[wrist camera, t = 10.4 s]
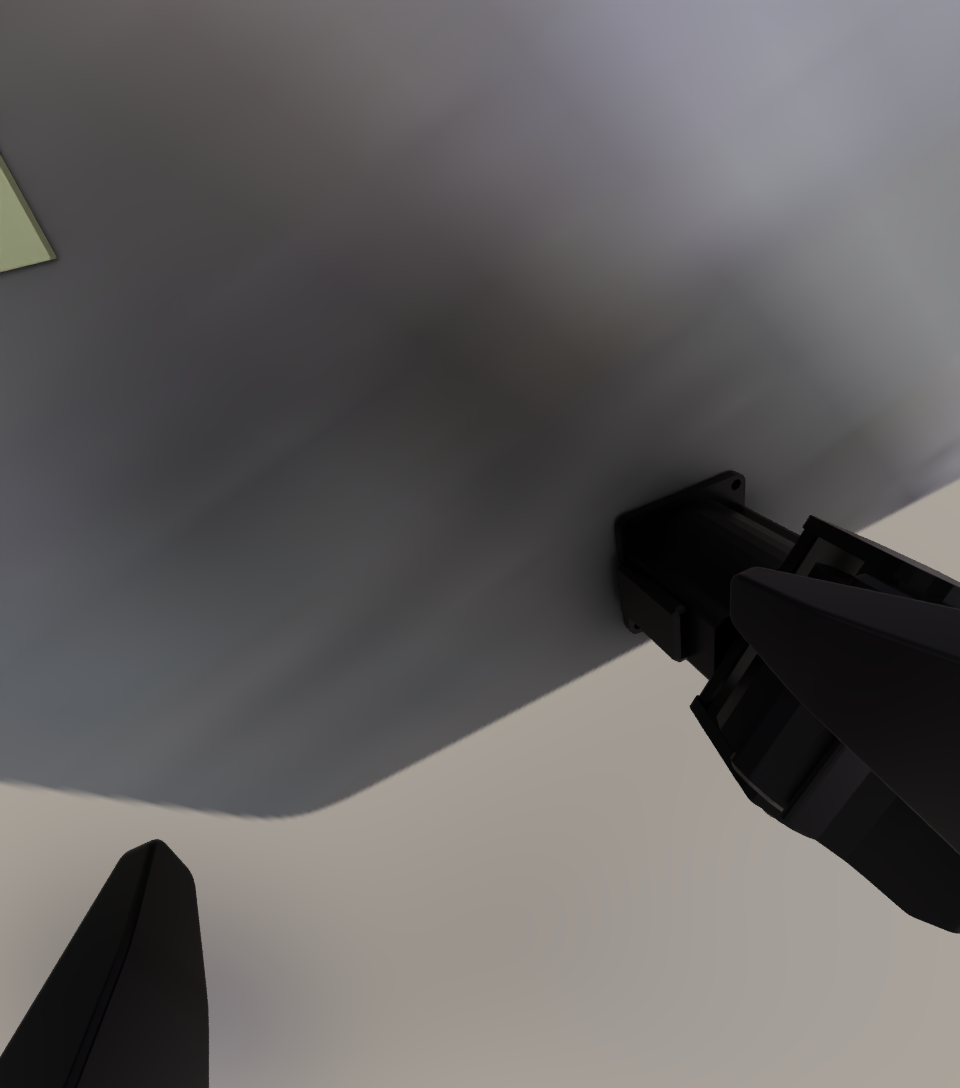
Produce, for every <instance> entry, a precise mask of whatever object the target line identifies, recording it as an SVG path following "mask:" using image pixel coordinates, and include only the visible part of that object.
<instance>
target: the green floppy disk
mask: <svg viewBox="0 0 960 1088" xmlns="http://www.w3.org/2000/svg"><path fill="white" fill-rule="evenodd" d="M53 259H57V257H56V255H55V253H54V251H53V250H52V248H51V246H50V244H49V242H48V240H47V239H46V237H45V235H44V233H43V231H42V229H41V228H40V226H39V224H38V222H37V220H36V218H35V217H34V215H33V213H32V211H31V209H30V208H29V206H28V204H27V202H26V200H25V198H24V197H23V195H22V193H21V191H20V189H19V187H18V186H17V184H16V182H15V180H14V178H13V176H12V175H11V173H10V171H9V169H8V167H7V166H6V164H5V162H4V160H3V158H2V156H1V155H0V272H4V271H8V270H12V269H16V268H21V267H25V266H29V265H33V264H37V263H41V262H45V261H49V260H53Z"/></svg>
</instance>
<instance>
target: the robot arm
mask: <svg viewBox="0 0 960 1088" xmlns="http://www.w3.org/2000/svg"><path fill="white" fill-rule="evenodd" d="M733 482H734V483H733ZM732 483H733V484H732ZM744 501H745V477H744V476H743V475H742V474H740V473H737V472H735V471H731V472H728V473H726V474H723V475H721V476H718V477H716V478H713V479H711V480H708V481H706V482H704V483H701V484H699V485H696V486H694V487H691V488H689V489H686V490H684V491H681V492H679V493H677V494H674V495H672V496H669V497H667V498H664V499H662V500H659V501H657V502H654V503H652V504H650V505H647V506H645V507H642V508H640V509H637V510H635V511H632V512H630V513H627V514H625V515H623V516H622V517H620V518H619V519H618V521H617V523H616V527H615V530H616V540H617V550H618V560H619V564H618V567H617V577H618V587H619V596H620V606H621V611H622V612H623V613H624V620H625V626H626V628H627V629H628V630H629V631H630V632H632V633H634V634H637V633H640V632H642V631H643V632H644V633H645V634H646V635H648V636H649V637H650V638H651V639H652V640H653V641H654V642H655V643H656V644H657V645H658V646H659V647H660V648H661V649H662V650H663V651H664V652H665V653H666V654H668V655H669V656H670V657H671V658H672V659H673V660H675V661H678V662H682V661H684V660H687V661H689V662H690V663H691V664H692V665H693V666H694V667H695V668H696V669H697V670H698V671H699V672H700V673H702V674H703V675H704V676H705V677H706V678H707V679H708V680H709V681H708V683H707V684H706V686H705V687H704V689H703V691H702V692H701V694H700V695H697V696H696V697H695V699H694V700H693V702H692V704H691V705H690V709H691V710H692V712H693V713H694V715H695V717H696V718H697V720H698V721H699V723H700V724H701V726H702V728H703V729H704V731H705V732H706V734H707V735H708V737H709V739H710V740H711V741H712V743H713V745H714V746H715V748H716V749H717V751H718V752H719V754H720V756H721V757H722V759H723V760H724V762H725V763H726V765H727V767H728V768H729V770H730V771H731V773H732V774H733V776H734V778H735V779H736V781H737V782H738V783H739V785H740V786H741V788H742V790H743V791H744V793H745V794H746V796H747V797H748V798H749V799H750V801H751V802H753V803H754V804H755V805H757V806H759V807H761V808H762V809H763V810H764V811H765V812H766V813H767V814H768V815H770V816H771V817H773V818H775V819H777V820H778V821H779V822H781V823H782V824H784V825H786V826H787V827H789V828H790V829H792V830H794V831H796V832H798V833H800V834H802V835H804V836H806V837H809V838H812V839H815V840H816V841H818V842H819V843H821V844H822V845H823V846H825V847H826V848H828V849H829V850H830V851H832V852H833V853H835V854H836V855H837V856H839V857H840V858H842V859H843V860H844V861H846V862H847V863H848V864H849V865H851V866H852V867H853V868H854V869H855V870H857V871H858V872H859V873H860V874H861V875H863V876H864V877H865V878H866V879H867V880H869V881H870V882H871V883H872V884H873V885H874V886H875V887H877V888H878V889H879V890H880V891H881V892H882V893H884V894H885V895H886V896H887V897H888V898H889V899H891V900H892V901H893V902H894V903H895V904H896V905H898V906H899V907H900V908H901V909H902V910H903V911H905V912H906V913H907V914H908V915H910V916H912V917H914V918H917V919H919V920H922V921H924V922H927V923H929V924H932V925H934V926H937V927H939V928H942V929H944V930H947V931H949V932H952V933H960V582H958V581H956V580H954V579H952V578H950V577H948V576H946V575H944V574H942V573H940V572H939V571H936V570H934V569H932V568H930V567H928V566H926V565H924V564H921V563H919V562H917V561H915V560H913V559H911V558H908V557H906V556H904V555H902V554H900V553H898V552H896V551H893V550H891V549H889V548H887V547H885V546H882V545H880V544H878V543H876V542H874V541H871V540H869V539H867V538H864V537H862V536H859V535H857V534H855V533H852V532H850V531H848V530H845V529H843V528H841V527H838V526H836V525H834V524H831V523H829V522H826V521H824V520H822V519H819V518H817V517H815V516H812V515H810V516H809V518H808V519H807V521H806V522H805V524H804V525H803V527H802V528H804V530H803V532H802V534H801V535H798V534H796V533H794V532H792V531H790V530H788V529H787V528H785V527H783V526H781V525H779V524H777V523H775V522H773V521H771V520H769V519H767V518H765V517H763V516H762V515H760V514H758V513H756V512H754V511H752V510H750V509H748V508H746V507H744ZM628 524H630V526H629V527H628V528H627V529H626V527H627V525H628ZM208 1018H209V1017H208V999H207V987H206V979H205V970H204V960H203V951H202V942H201V933H200V925H199V915H198V906H197V898H196V888H195V883H194V879H193V876H192V874H191V873H190V871H189V869H188V868H187V867H186V866H185V864H183V862H182V861H181V860H180V859H179V858H178V857H177V856H176V855H175V853H174V852H173V851H172V850H171V849H170V848H169V847H168V846H167V845H166V844H165V843H164V842H163V841H161V840H159V839H155V840H151V841H150V842H147V843H145V844H143V845H140V846H138V847H136V848H134V849H131V850H129V851H128V852H126V853H125V854H124V855H123V856H122V857H121V858H120V860H119V861H118V863H117V864H116V866H115V868H114V870H113V871H112V873H111V874H110V876H109V878H108V879H107V881H106V883H105V884H104V886H103V888H102V889H101V891H100V893H99V894H98V896H97V898H96V899H95V901H94V903H93V904H92V906H91V907H90V909H89V911H88V912H87V914H86V916H85V917H84V919H83V921H82V922H81V924H80V926H79V927H78V929H77V931H76V932H75V934H74V936H73V937H72V939H71V941H70V942H69V944H68V946H67V947H66V949H65V950H64V952H63V954H62V956H61V957H60V959H59V960H58V962H57V964H56V965H55V967H54V969H53V970H52V972H51V974H50V975H49V977H48V979H47V980H46V982H45V984H44V985H43V987H42V989H41V990H40V992H39V994H38V995H37V997H36V998H35V1000H34V1002H33V1003H32V1005H31V1007H30V1008H29V1010H28V1012H27V1014H26V1015H25V1017H24V1018H23V1020H22V1022H21V1024H20V1025H19V1027H18V1028H17V1030H16V1032H15V1033H14V1035H13V1037H12V1038H11V1040H10V1042H9V1043H8V1045H7V1046H6V1048H5V1050H4V1052H3V1053H2V1055H1V1056H0V1088H209V1019H208Z"/></svg>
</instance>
